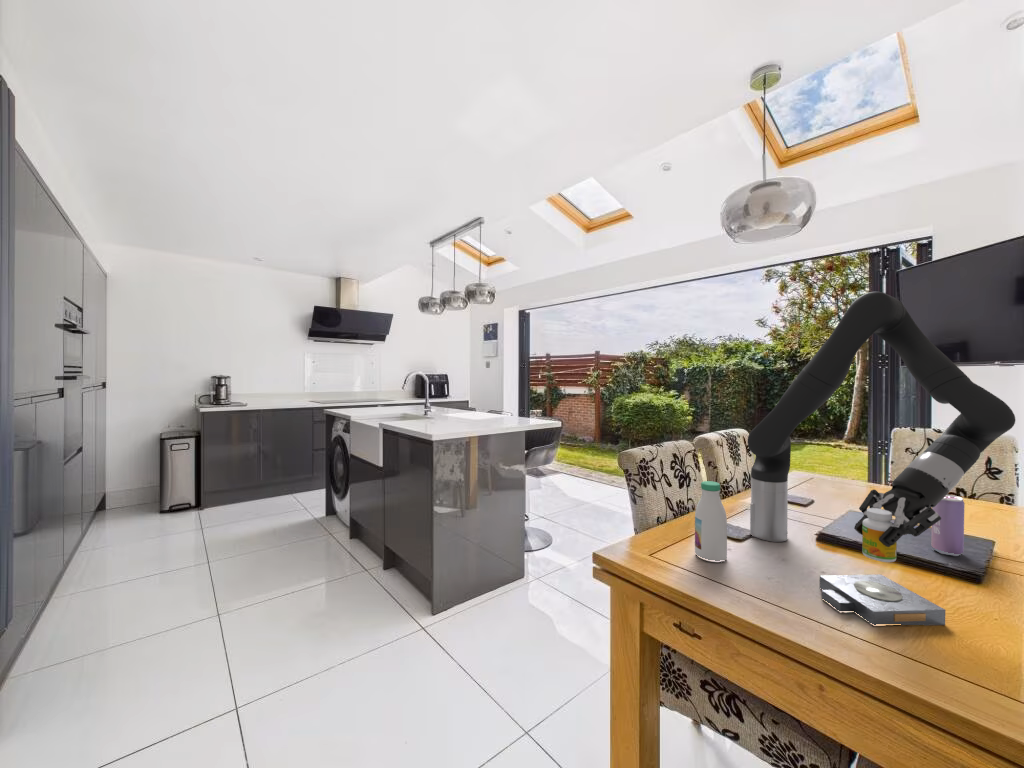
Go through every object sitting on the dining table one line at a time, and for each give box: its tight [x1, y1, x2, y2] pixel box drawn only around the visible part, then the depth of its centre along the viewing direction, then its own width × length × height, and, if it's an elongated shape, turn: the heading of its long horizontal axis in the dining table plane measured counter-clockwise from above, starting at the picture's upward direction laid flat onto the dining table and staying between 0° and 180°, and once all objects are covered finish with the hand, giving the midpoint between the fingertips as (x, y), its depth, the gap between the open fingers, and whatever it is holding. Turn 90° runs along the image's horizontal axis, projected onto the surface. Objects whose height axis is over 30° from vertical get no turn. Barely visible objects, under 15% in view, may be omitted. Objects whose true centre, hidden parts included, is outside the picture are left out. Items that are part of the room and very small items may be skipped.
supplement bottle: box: [861, 507, 898, 563], centre depth 87 cm, size 5×5×10 cm
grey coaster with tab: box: [819, 573, 946, 626], centre depth 88 cm, size 17×14×3 cm
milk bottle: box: [694, 480, 728, 561], centre depth 111 cm, size 8×8×20 cm
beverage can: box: [930, 494, 965, 554], centre depth 112 cm, size 6×6×15 cm
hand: (870, 537), depth 87 cm, fingers closed on supplement bottle, 5 cm apart
